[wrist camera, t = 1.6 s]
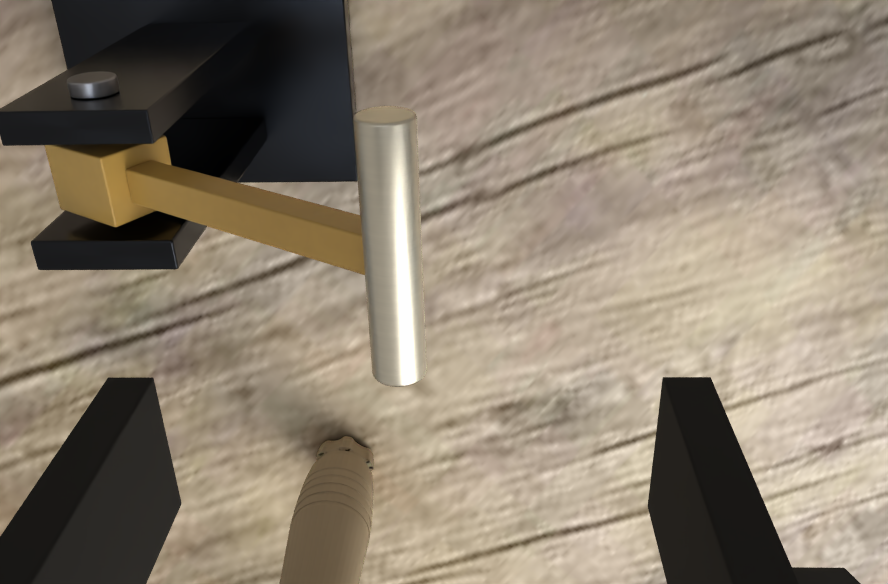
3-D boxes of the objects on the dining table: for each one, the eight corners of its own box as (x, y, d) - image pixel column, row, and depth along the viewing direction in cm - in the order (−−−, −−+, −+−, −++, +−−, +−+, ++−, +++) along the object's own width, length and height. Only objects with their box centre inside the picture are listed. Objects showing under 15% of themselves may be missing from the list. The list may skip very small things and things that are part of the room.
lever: (440, 105, 20) (376, 133, 18) (447, 359, 23) (393, 403, 21) (93, 46, 26) (22, 63, 25) (137, 249, 30) (77, 277, 28)
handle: (365, 400, 45) (319, 635, 32) (406, 489, 48) (379, 739, 35) (282, 421, 46) (203, 659, 33) (327, 508, 49) (271, 759, 35)
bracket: (345, -37, 35) (274, 33, 23) (361, 172, 39) (307, 326, 27) (57, -31, 35) (-165, 41, 23) (103, 175, 39) (-63, 327, 27)
